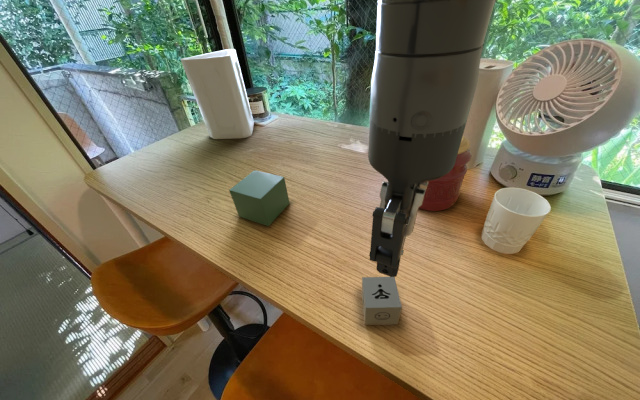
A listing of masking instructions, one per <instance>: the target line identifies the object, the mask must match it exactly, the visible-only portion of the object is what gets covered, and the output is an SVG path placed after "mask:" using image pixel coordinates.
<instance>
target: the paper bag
mask: <svg viewBox="0 0 640 400" xmlns="http://www.w3.org/2000/svg"><path fill="white" fill-rule="evenodd" d="M180 62H181V64H182V67H183V70H184V72H185V75H186V78H187V80H188V83H189V85H190V88H191V91H192V93H193V96H194V98H195V101H196V104H197V106H198V109H199V112H200V114H201V117H202V119H203V123H204V125H205V128H206V130H207V134H208V135H209V137H210V138H211V139H212V140H223V139H225V140H226V139H245V138H249V137H251V136H252V135H253V131H254V126H255V122H254V121H255V120H254V118H253V113H252V110H251V106H250V105H251V104H250V103H249V98H248V94H247V91H246V86H245V82H244V78H243V74H242V70H241V66H240V63H239V59H238V55H237V50H236V49H235V48H228V49H227V48H226V49H222V50H217V51H212V52H207V53H203V54H198V55H192V56H188V57H183V58H180Z"/></svg>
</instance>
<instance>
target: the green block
mask: <svg viewBox="0 0 640 400" xmlns="http://www.w3.org/2000/svg"><path fill="white" fill-rule="evenodd" d="M228 191H229V194H230V196H231V200H232V202H233V204H234V207H235V210H236V213H237V215H238V217H240V218H242V219H245V220H249V221H251V222H254V223H256V224H260V225H263V226H266V227H269V226H270V225H271V224H272V223H273V222H274V221H275V220H276V219H277V218H278V217H279V215H280V214H281V213H282V212H283V211H284V210H285V209H286V208H287V207H288V206H289V205H290V199H289V193H288V188H287V183H286V179H285V177H284V176H281V175H277V174H273V173H270V172H264V171H260V170H256V169H254V170H252V171H251V172H250V173H248V174H247V175H246V176H245V177H243V178H242V179H241V180H240V181H239V182H237V183H236V184H235V185H233V186H232V187H231V188H230V189H229V190H228Z"/></svg>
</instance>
